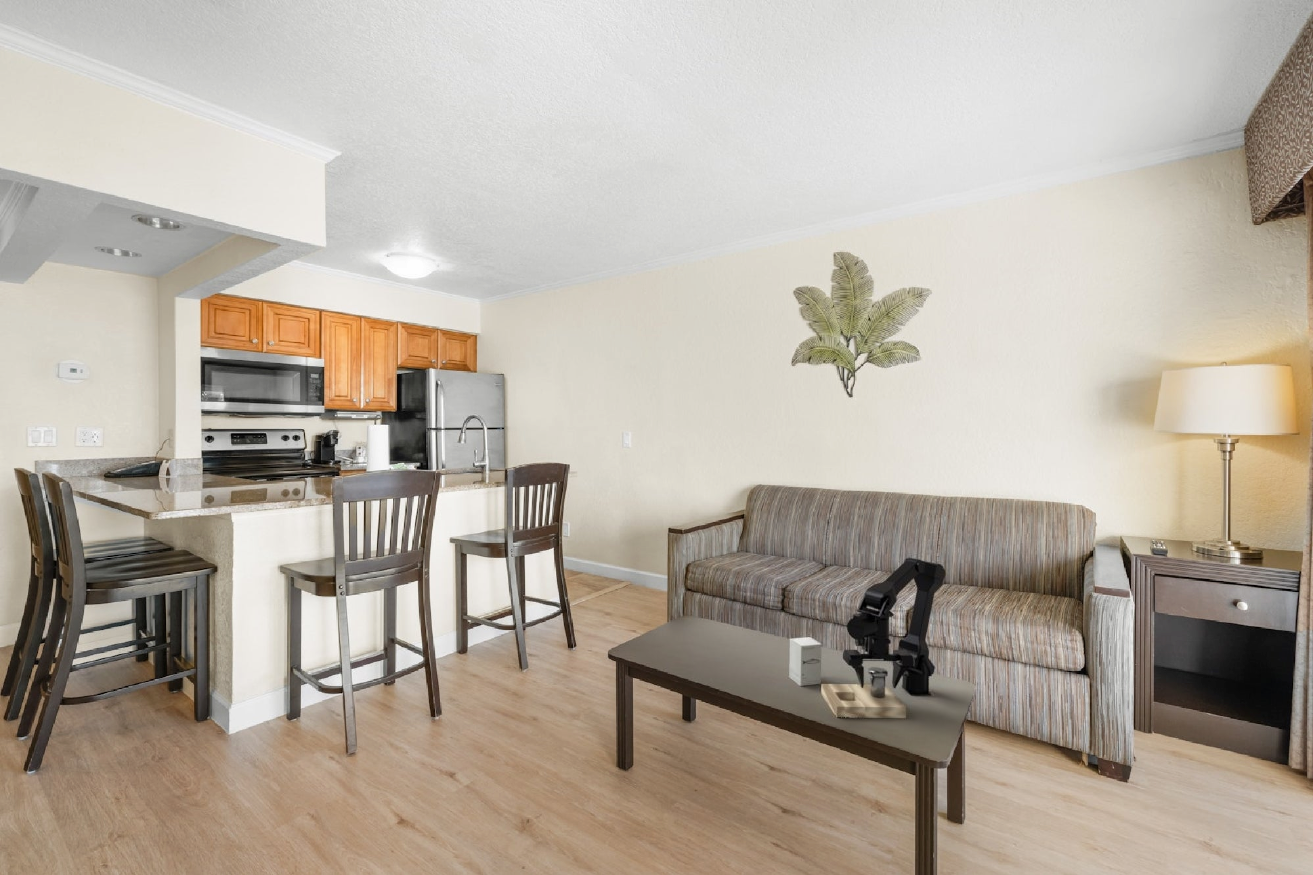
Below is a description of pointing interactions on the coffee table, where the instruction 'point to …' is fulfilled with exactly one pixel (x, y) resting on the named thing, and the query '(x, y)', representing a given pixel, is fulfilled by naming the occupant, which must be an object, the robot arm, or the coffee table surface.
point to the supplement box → (805, 661)
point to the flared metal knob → (877, 681)
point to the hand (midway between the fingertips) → (877, 687)
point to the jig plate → (861, 702)
